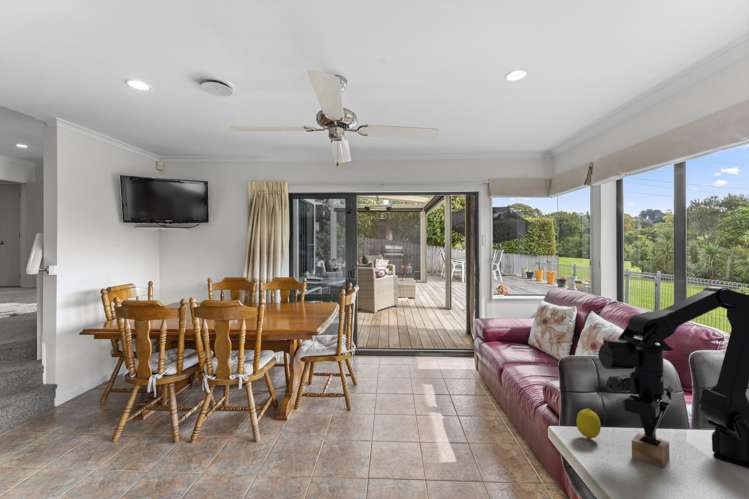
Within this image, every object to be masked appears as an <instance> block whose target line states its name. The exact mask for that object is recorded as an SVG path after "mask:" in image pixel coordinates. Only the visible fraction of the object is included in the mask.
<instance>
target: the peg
mask: <svg viewBox="0 0 749 499" xmlns="http://www.w3.org/2000/svg"><path fill="white" fill-rule="evenodd" d="M643 431H644V430H643ZM643 434H644V436H645V443H648V444H652V445H655V446H656V438H657V429H656V428H655V430H654V433H653V435H652V436H647V435H646V434H645V431H644V433H643Z"/></svg>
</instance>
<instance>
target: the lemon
mask: <svg viewBox="0 0 749 499" xmlns="http://www.w3.org/2000/svg"><path fill="white" fill-rule="evenodd" d="M601 425H602V424H601V420H600V418H599V416H598V414H597V413H596V412H594V411H593V410H591V409H590V408H585V409H582V410H580V411H579V412H578V413H577V416H576V427H577V430H578V432H579V433H580V434H581V435H582V436H584V437H585V438H586V439H587V440H592V439H593V438H594V439H595V438H597V437H598V436H599V435H600V434H601V428H602V426H601Z"/></svg>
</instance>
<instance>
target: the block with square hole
mask: <svg viewBox="0 0 749 499" xmlns="http://www.w3.org/2000/svg"><path fill="white" fill-rule="evenodd" d="M631 458H633V459H636V460H640V461H642V462H645V463H648V464H651V465H653V466H657V467H659V468H662V469H664V468H665V466H666V465H667V464H668V462H669V460H670V441H669V440H664V439H662V438H658V437H656V446H655V445H652V444H648V443H645V436H644V433H642V432H637V434H636V435H635V436H634V437H633V438H632V439H631Z"/></svg>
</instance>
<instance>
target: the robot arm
mask: <svg viewBox="0 0 749 499" xmlns="http://www.w3.org/2000/svg"><path fill="white" fill-rule="evenodd" d="M718 308H721V309H725V310H726V318H727V320H728V322H729V325H730V328H731V329H730V334H729V338H728V341H727V344H726V349H725V353H724V357H723V359H722V360H723V361H722V364H721V368H720V372H719V376H718V379H717V383H716V384H715V385H714V386H713V387H712V388H710V389H708V388H706V387H705V388H703V389H702V391H701V392H702V393H701V396H700V399H699V401H698V404H700V408H699V409H700V412H701V413H702V414H703V416H704V417H705V419H706V422H707V425H709V426H712V427H714V431H712V434H711V450H712V452H714V453H713V457H714V458H716V459H719V460H722V461H726V462H729V463H731V464H735V465H738V466H741V467H745V468H747V469H748V468H749V400H748V398H747V391H748V390H747V389H748V386H749V294H748V293H747V294H746V293H742V292H738V291H735V290H732V289H730V288H727V287H719V286H708V287H705V288H703V289H702V290H701V291H700V292H697V293H694V294H692V295H691V296H688V297H686V298H684V299H682V300H680V301H678V302H675V303H673V304H672V305H669V306H668V307H665V308H663V309H660V310H652V311H646V312H642V313H638V314H636V315H633V316H631V317H630V318H629V321H628V324H627V326H626V327H625V328H624V329H623V331H622V332H621V334H620V335H619V337H618V338H617V340H615V339H614V340H613V339H603V344H602V345H601V346H600V347H599V350H598V353H597V354H598V359H599V362H600V364H601V366H602V367H603V368H604V369H607V370H633V371H631V372H630V373H628V374H620V375H617V374H615V375H613V376H612V375H610V376H609V377H608V378H606V381H605V382H606V388H608V389H609V390H610V391H611V394H612V393H614V394H615V393H616V394H617V392H628V391H629V393H630V395H629V396H627V397H626V398H624V399H623V400H622V410H623V411H625V412H629V413H631V414H632V413H633V414H636V415H638V416H639V419H640V421H641V424H642V427H643V431H645V434H646V435H647V436H652V435H653V433H654V430H655V428H656V430H657V429H658V427H659V425H660V423H661V421H662V420H663V418H664V416H665V414H666V412H667V410H668V408H669V406H670V403H669V402H665V401H663V399H664V398H665V397H667V398H668V400H670V401H673V399H674V398H675V390H674V388H672V386H671V385H669V384H665V380H666V378H667V373H666V372H664V352H673V351H674V349H673V347H672V346H670V345H669V344H668V343H667V342H666V340H668V338H670V337H671V336H673V335H674V334H675V332H676V330H677V329H678V328H679V327H680V326H682V325H684V324H687V323H688V322H690V321H693V320H694V319H697V318H699V317H701V316H703V315H705V314H707V313H709V312H711V311H714V310H716V309H718Z"/></svg>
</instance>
